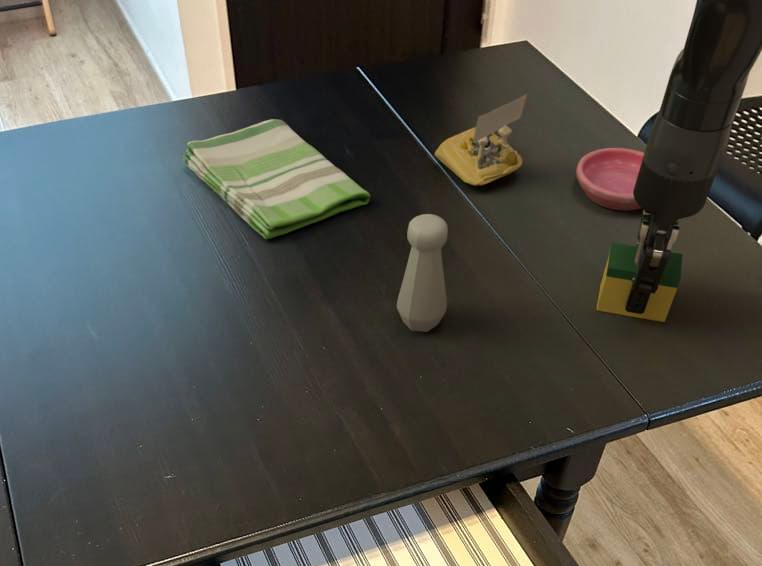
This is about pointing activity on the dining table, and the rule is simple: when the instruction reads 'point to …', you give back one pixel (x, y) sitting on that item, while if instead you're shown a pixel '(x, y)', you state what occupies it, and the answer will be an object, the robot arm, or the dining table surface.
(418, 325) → the salt shaker
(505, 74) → the dining table surface
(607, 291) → the sponge
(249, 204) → the dish towel
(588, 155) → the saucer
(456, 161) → the yellow base with figure
